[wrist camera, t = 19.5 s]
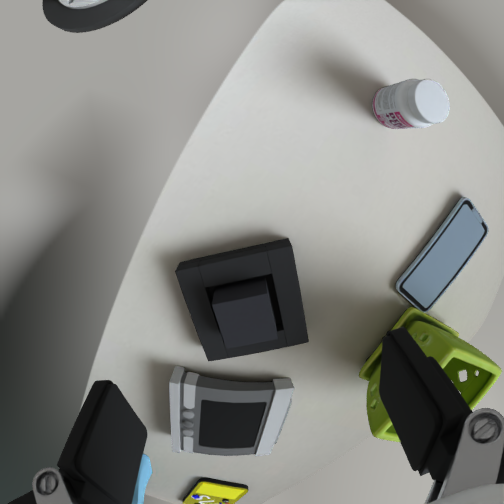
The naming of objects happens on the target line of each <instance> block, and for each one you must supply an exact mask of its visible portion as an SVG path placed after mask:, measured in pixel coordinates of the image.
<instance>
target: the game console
mask: <svg viewBox="0 0 504 504" xmlns="http://www.w3.org/2000/svg"><path fill="white" fill-rule="evenodd" d="M247 492H248V486H247V485H244V484H238V483H231V482H226V481H221V480H216V479H211V478H200V479H199V480H198V481H197V482H196V484H195V485H194V486H193V488H192V489H191V490H190V491H189V493H188V494H187V495H186V496H185V498H184V499H183V504H234V503H235V502H236V501H238V500H239V499H240V498H241V497H242V496H244V495H245V494H246V493H247Z"/></svg>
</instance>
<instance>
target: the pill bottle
mask: <svg viewBox="0 0 504 504" xmlns="http://www.w3.org/2000/svg"><path fill="white" fill-rule="evenodd" d="M372 107H373V112H374V114H375V116H376V118H377V119H378V121H379V122H380V123H381V124H383V125H384V126H386V127H388V128H392V129H404V128H424V127H428V126H430V125H432V124H435V123H440V122H442V121H444V120H445V119H446V118H447V116H448V114H449V109H450V104H449V99H448V96H447V94H446V92H445V90H444V89H443V87H442V86H441V85H440V84H439V83H437V82H436V81H434V80H431V79H423V80H418V79H409V80H405V81H402V82H399V83H396V84H393V85H390V86H387V87H384V88H382V89H380V90H378V91H377V92H376V94H375V96H374V98H373V103H372Z"/></svg>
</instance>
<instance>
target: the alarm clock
mask: <svg viewBox="0 0 504 504" xmlns="http://www.w3.org/2000/svg"><path fill="white" fill-rule="evenodd" d="M293 391H294V386H293V383H292V381H291V379H290V378H286V379H273V382H260V383H254V382H236V381H228V380H220V379H214V378H209V377H203V376H199V374H197V373H192V372H188V373H185V368H184V367H179V366H176V367H175V369H174V372H173V374H172V377H171V379H170V382H169V394H170V420H171V438H172V451H173V452H177V453H180V450H184V451H185V452H189V453H193V452H196V453H202V454H208V455H222V456H233V455H249V454H255V456H261V455H269V454H270V453H271V450H272V448H273V445H274V444H276V443H277V440H278V437H279V435H280V432H281V430H282V427H283V425H284V422H285V419H286V417H287V414H288V411H289V408H290V406H291V403H292V400H291V397H292V394H293Z"/></svg>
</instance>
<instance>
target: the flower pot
mask: <svg viewBox="0 0 504 504" xmlns="http://www.w3.org/2000/svg"><path fill="white" fill-rule="evenodd" d="M400 327H405V328H406V329H407V331H408V332H409V333H410V335H411V336H412V337H413V339H414V340H415V341H416V343H417V344H418V345H419V347H420V348H421V349H422V351H423V352H424V353H425V355H426V356H427V357H429V356H431V357H434V359H435V360H436V361H437V362H438V363H439V365H440V366H441V367H442V369H443V370H444V372H445V373H446V374H447V376H448V377H449V378H450V380H451V381H452V382H453V384H454V385H455V387H456V388H457V390H459V391H460V392H461V396H462V397H463V398H464V400H465V401H466V403H467V404H468V406H469V407H470V409H471V410H472V409H473V408H474V407H475V406H476V405H477V404H478V403H479V401H480V400H481V399H482V398H483V397H484V396H485V394H486V393H487V392H488V391H489V389H490V388H491V387H492V385H493V384H494V383H495V381H496V380H497V379H498V377H499V376H500V374H501V372H502V370H501V368H500V367H499V366H498V365H497V364H496V363H494V362H493V361H492V360H491V359H490V358H489V357H487V356H486V355H485V354H483V353H482V352H481V351H479V350H478V349H476V348H475V347H473V346H472V345H470V344H469V343H467V342H465V341H464V340H462V339H460V338H458V336H459V333H458V332H456V331H455V330H453V329H452V328H450V327H448V326H447V325H445V324H443V323H442V322H440V321H438V320H436V319H435V318H433V317H431V316H429V315H427V314H426V313H424V312H422V311H420V310H418V309H416V308H414V307H410V308H408V309H407V310H406V311H405V312H404V314H403V315H402V316H401V318H400V319H399V320H398V322H397V323H396V324H395V326H394V327H393V328H392V330H394V329H397V328H400ZM381 357H382V343H381V344H380V345H379V346H378V348H377V349H376V350H375V352H374V353H373V354H372V355H371V357H369V358H368V359H367V360H366V363H365V364H364V365H363V367H362V368H361V370H360V372H359V377H360V378H362V379H364V380H367V381H369V384H368V389H367V415H368V420H369V425H370V429H371V432H372V434H373V436H374V437H376V438H380V439H384V440H389V441H396V442H400V440H399V438H398V435H397V433H396V431H395V429H394V426H393V424H392V422H391V420H390V418H389V415H388V413H387V411H386V409H385V407H384V405H383V403H382V400H381V398H380V395H379V383H380V371H381ZM462 370H466V371H467V380H466V381H464V382H460V379H459V371H462ZM477 370H478V371H479V375H478V376H476V375H475V374H476V371H477Z"/></svg>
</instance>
